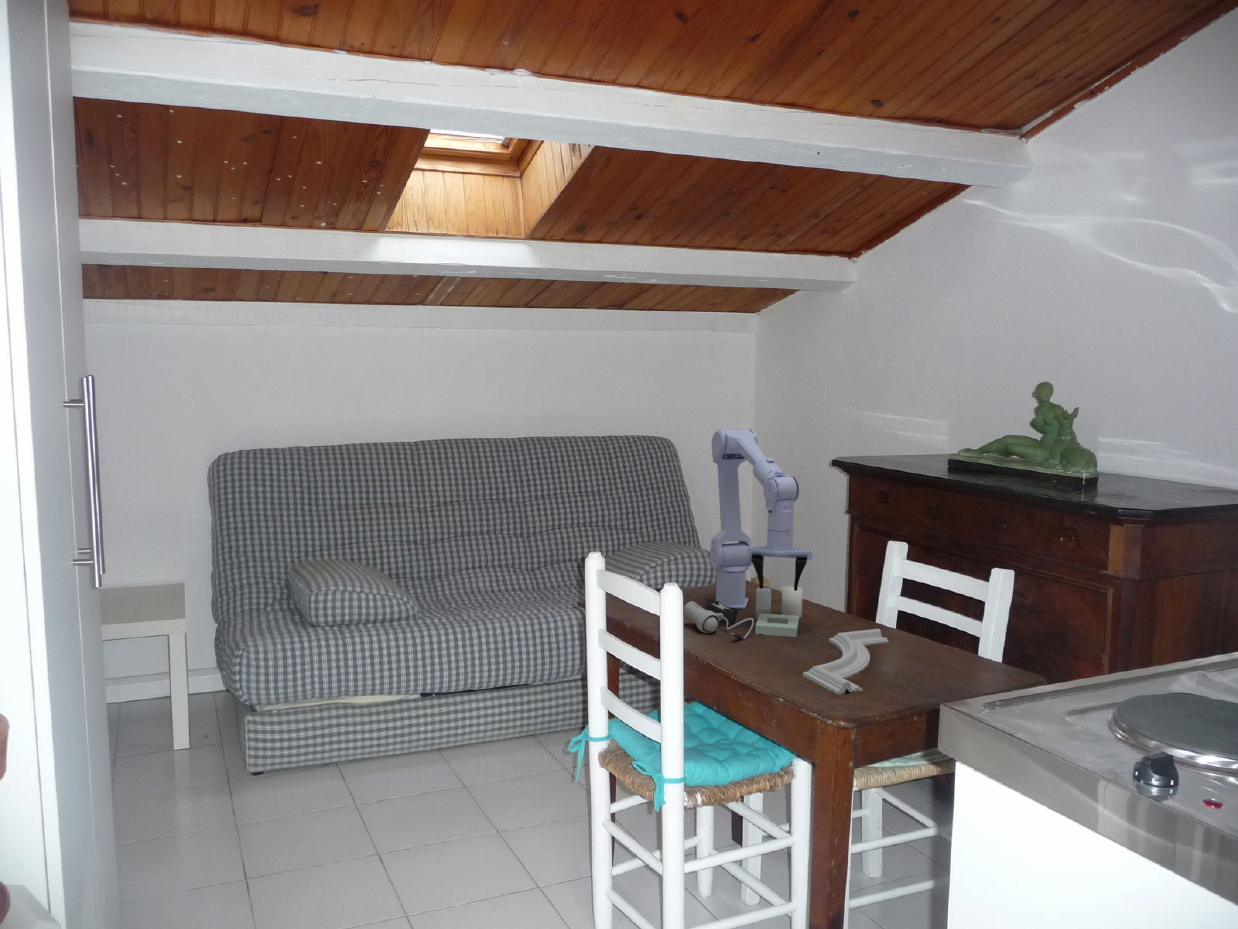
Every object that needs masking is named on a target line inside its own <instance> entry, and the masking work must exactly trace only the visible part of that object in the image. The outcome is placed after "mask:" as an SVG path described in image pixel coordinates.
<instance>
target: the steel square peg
mask: <svg viewBox="0 0 1238 929" xmlns="http://www.w3.org/2000/svg"><path fill="white" fill-rule="evenodd" d="M755 594H756V595H755V620H756V619H758V617H759V614H760V613H763V614H771V605H772V604H771V603H772V602H771V601H772V599H771V598H772V588H769V587H763V589H760V587H757V588H756V590H755Z"/></svg>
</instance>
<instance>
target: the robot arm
mask: <svg viewBox="0 0 1238 929" xmlns="http://www.w3.org/2000/svg"><path fill="white" fill-rule="evenodd" d="M758 442H759V440H758V435H757V433H756V432H755V430H754V429H753V428H747V429H745V428H743V429H720V428H718V429H716V430H715V431H714V434H713V435H712V439H711V453H712V454H711V455H712V456H711V457H712V462H713V463H715V464H716V465H717V466H716V467H717V478H718V479H717V480H718V483H717V485H718V497H719V500H718V501H719V515H720V516H719V517H720V531H718V533H717V534H716V535H714V536H713V537H712V538H711V539H710V550H709V561H710V564H711V565H712V567H713V568H714V569H715V570H716V595H715V596H716V597H715V601H719V602H721V603H722V604H724V605H726V606H727V607H729V608H730V609H734V608H737V609H746V608H747V603H748V602H749V597H746V581H747V580H746V577H747V576H746V574H747V572H746V571H749V568H750V567H751V566H752V565H753V568H754V570H755V572H756V575H757V579H758V585H759V588H760V589H763V588H764V583H765V582H764V560H765V557H768V558H784V559H785V558H786V559H787V558H788V559H795V565H794V566H795V567H794V571H795V572H794V583H793V586H794V591H797V589H798V586H799V582H800V579H801V576H802V574H803V571H804V569H805V566H806V565H807V564H808V563H807V562H808V560H812V561H813V549H809V548H808V549H806V548H799V547H797V548H796V547H793V546H794V545H793V543H794V542H793V539H794V509H795V508H794V507H795V502H796V501H797V500H798V499H799V496H800V484H799V481H798V480H797V477H796V476H795V475H789V474H786V473H785V472H784V471H783V470H782V468H780V466H779V465H778V464H777V462H776V461H775V459H774V458H772V457H766V455H764V452H763V451H762V449H761V448H760V446H759V445H758ZM744 462H748V463H749V464H750V465H751V466H752V467H753V468H752V474H753V476H754V477H755V478H756V480H757V481H758V482H759V483H760V485H761V486H762V490H763V497H764V499H765V508H766V509H767V527H766V528H767V529H766V530H767V531H766V532H767V533H766V546H752V540H751V537H750V536H749V535H748V534H747V533H746V532H744V531H743V530H742V520H741V518H742V516H741V503H740V500H741V499H740V485H739V484H740V482H739V467H740V465H741V464H742V463H744ZM727 542H729V543H727ZM730 542H732V543H730ZM734 542H735V543H734ZM715 601H714V602H715ZM714 602H713V603H712V604H714Z"/></svg>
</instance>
